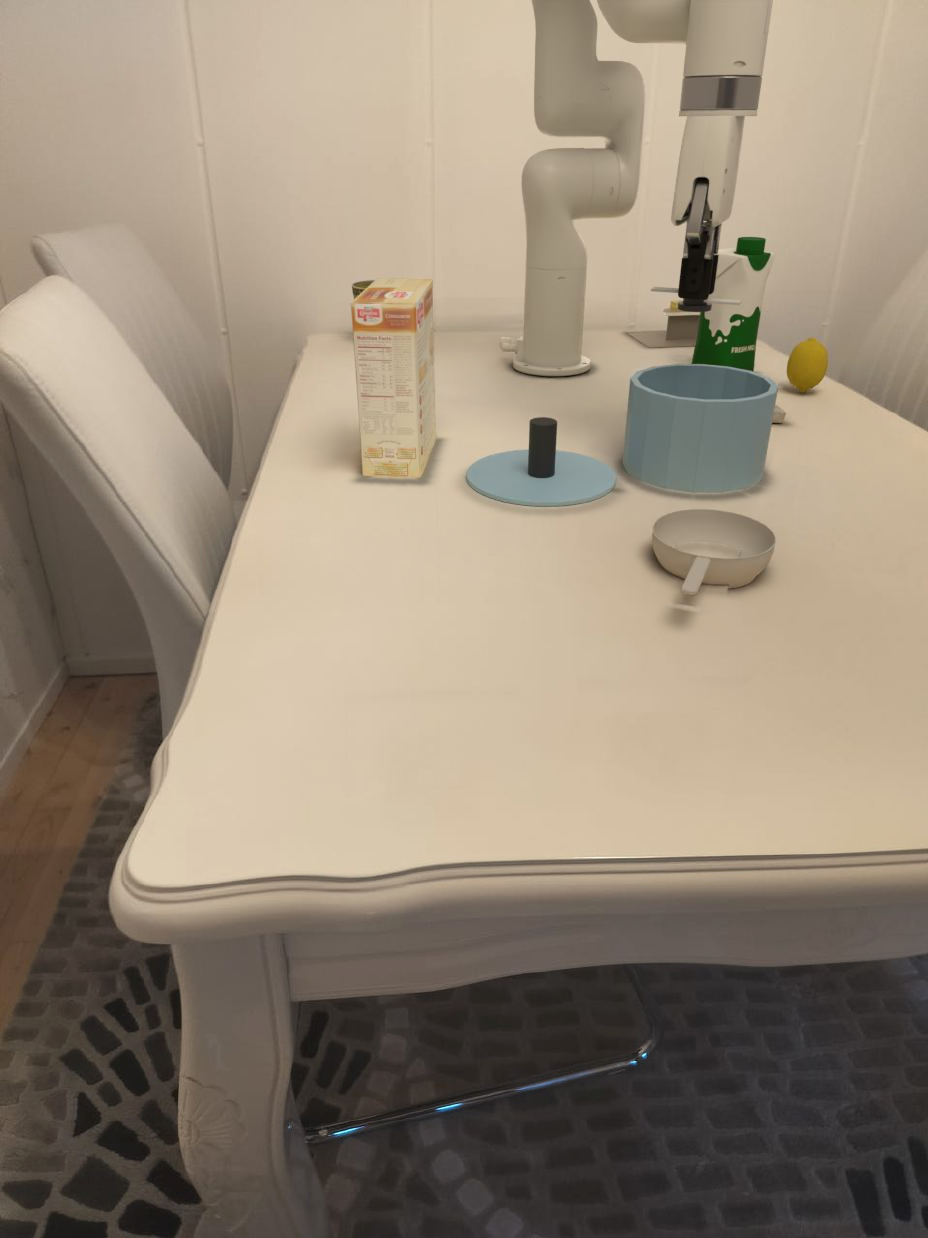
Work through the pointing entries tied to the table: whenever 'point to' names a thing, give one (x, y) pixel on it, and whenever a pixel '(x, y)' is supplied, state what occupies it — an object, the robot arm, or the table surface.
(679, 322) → the platform
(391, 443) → the coffeecake box
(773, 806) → the table surface
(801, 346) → the lemon
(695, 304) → the blade
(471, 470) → the blue pot lid
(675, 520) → the saucepan
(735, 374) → the bowl
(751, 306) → the milk carton
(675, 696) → the table surface
